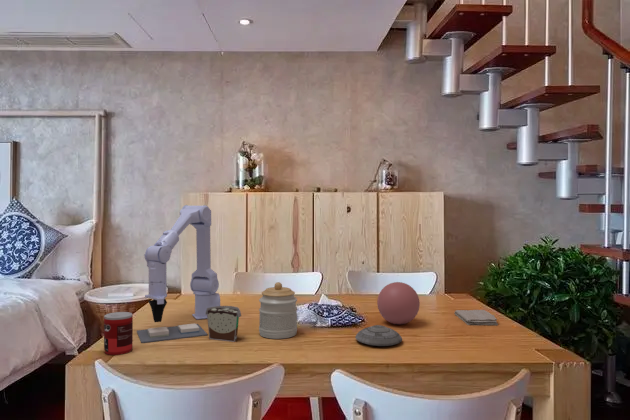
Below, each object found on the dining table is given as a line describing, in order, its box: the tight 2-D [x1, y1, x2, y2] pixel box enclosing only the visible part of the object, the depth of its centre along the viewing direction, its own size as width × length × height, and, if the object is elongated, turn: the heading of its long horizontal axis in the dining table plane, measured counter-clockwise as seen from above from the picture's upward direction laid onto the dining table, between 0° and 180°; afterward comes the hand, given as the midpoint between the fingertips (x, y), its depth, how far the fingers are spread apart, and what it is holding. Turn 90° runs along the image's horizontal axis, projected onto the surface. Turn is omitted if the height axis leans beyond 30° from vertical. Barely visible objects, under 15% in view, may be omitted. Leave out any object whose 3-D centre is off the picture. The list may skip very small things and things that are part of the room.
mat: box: [136, 323, 209, 344], centre depth 160 cm, size 21×15×1 cm
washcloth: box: [454, 309, 499, 327], centre depth 181 cm, size 12×18×3 cm, turn 1°
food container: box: [206, 305, 242, 343], centre depth 155 cm, size 12×6×10 cm, turn 71°
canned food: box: [103, 311, 134, 356], centre depth 141 cm, size 8×8×11 cm
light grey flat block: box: [177, 323, 199, 334], centre depth 162 cm, size 6×2×6 cm
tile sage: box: [147, 326, 169, 338], centre depth 158 cm, size 6×2×6 cm
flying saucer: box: [354, 324, 403, 347], centre depth 152 cm, size 15×15×6 cm
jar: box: [258, 281, 298, 340], centre depth 160 cm, size 13×13×18 cm
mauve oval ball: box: [377, 281, 421, 325], centre depth 177 cm, size 15×20×15 cm
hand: (157, 321), depth 159 cm, fingers closed
